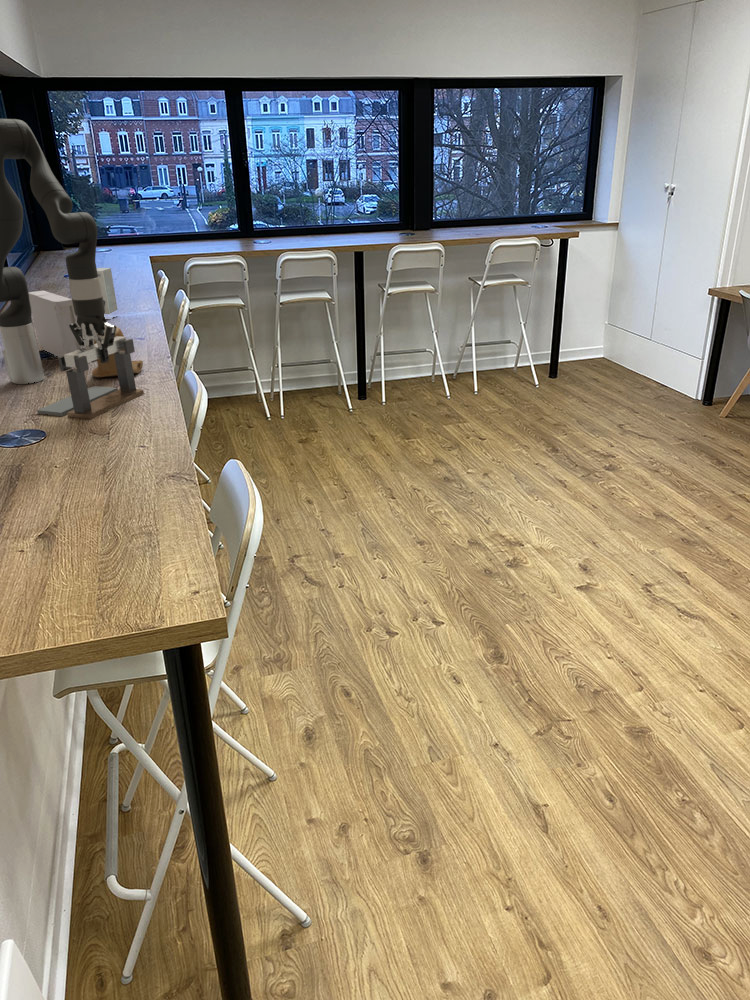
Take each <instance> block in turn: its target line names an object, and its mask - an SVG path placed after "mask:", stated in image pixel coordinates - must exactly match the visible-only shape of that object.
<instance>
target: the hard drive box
mask: <svg viewBox="0 0 750 1000" xmlns="http://www.w3.org/2000/svg"><path fill="white" fill-rule="evenodd" d="M96 268H97V273H98V279H99V282H100V285H101V290H102V296H103V302H104V307H105V314H110V313H112V312H114V311H116V310H118V304H117V303H118V302H117V298H116V292H115V291H116V290H115V287H114V286H115V285H114V280H113V273H112V267H96ZM118 311H119V310H118Z"/></svg>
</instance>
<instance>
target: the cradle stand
mask: <svg viewBox="0 0 750 1000" xmlns="http://www.w3.org/2000/svg"><path fill="white" fill-rule="evenodd" d="M123 345H124V351H119V352H116V353H114V356H115V362H116V368H117V373H118V376H117V378H118V384H119V389H117V391H115V392H112V393H110V394H108V395H106V396H103V397H101V398H99V399H97V400H94V401H92V402H90V399H89V394H88V389H89V388H88V386H87V385H88V384H87V380H86V375H85V372H86V371H89V370H90V368H89V363H88V362H87V357H86V356H81V357H79V358H76V359H75V361H76V366H77V367H66V363H65V358H64V355H63V356H61V357H57V360H58V365H59V370H60V372H66V373H65V374H66V378H67V383H68V388H69V393H70V396H71V398H72V402H73V407H74V410H72V411H70V412H67V414H66V415H67V417H68V418H75V419H84V420H92V419H94V418H96V417H98V416H100V415H102V414H104V413H106V412H108V411H111V410H113V409H115V408H117V407H119V406H121V405H123V404H125V403H128V402H129V401H132V400H133V399H136V398H138V397H140V396H142V395H144V394H145V393H144V389H139V388H137V386H136V380H135V374H134V373H133V368H132V362H131V361H132V357H131V354H133V353H135V351H136V350H135V346H134V339H133V338H128V339H126V340H125V341H123ZM114 407H115V408H114ZM112 408H113V409H112ZM110 409H111V410H110Z"/></svg>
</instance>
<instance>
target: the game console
mask: <svg viewBox="0 0 750 1000" xmlns="http://www.w3.org/2000/svg"><path fill="white" fill-rule="evenodd" d="M28 293H29V300H30V305H31V311H32V314H31V316H32V320H33V325H34V329H35V331H36V332H35V334H36V338H37V341H38V342H37V343H38V345H39V346H40V349H41V350H42V351H43V350H45V351H47V352H50V353H52V354H54V355H56V356H58V357H61V356H63V355H65V354H68V353H71V352H74V351H77V350H79V349H82V348H84V346H80V345H79V344H78V342H77V340H76V338H75V336H74V334H73V333H72V331H71V329H70V327H69V325H70V324H73V323H75V322H77V316H76V315H75V313H74V308H73V302H72V298H69V297H66V296H62V295H60V294H59V295H58V294H56V293H53V292H49V291H46V290H39V291H38V290H37V291H31V292H29V291H28ZM80 338H81V337H80ZM81 339H82V338H81ZM45 351H44V352H45ZM47 352H46V353H47ZM56 356H55V357H56ZM58 357H57V358H58Z"/></svg>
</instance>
